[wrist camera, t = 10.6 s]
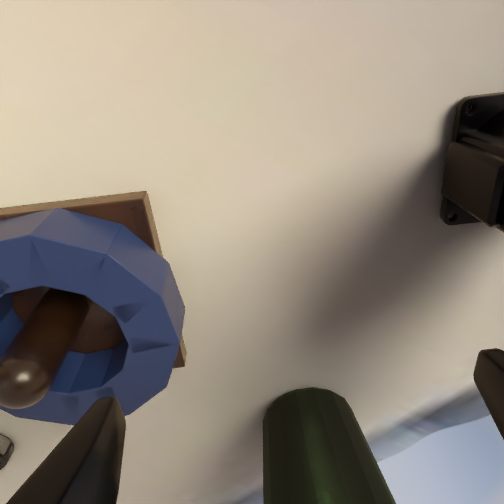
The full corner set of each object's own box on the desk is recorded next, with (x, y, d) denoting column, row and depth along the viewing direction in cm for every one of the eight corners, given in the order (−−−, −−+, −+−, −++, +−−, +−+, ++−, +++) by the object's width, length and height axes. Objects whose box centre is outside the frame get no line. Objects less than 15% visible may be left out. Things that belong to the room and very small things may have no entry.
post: (147, 190, 19) (108, 266, 13) (186, 353, 24) (174, 467, 18) (-74, 216, 19) (-230, 307, 12) (14, 374, 24) (-63, 497, 18)
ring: (142, 188, 18) (128, 213, 15) (204, 360, 23) (202, 400, 21) (-85, 238, 18) (-136, 271, 16) (28, 396, 24) (3, 440, 21)
